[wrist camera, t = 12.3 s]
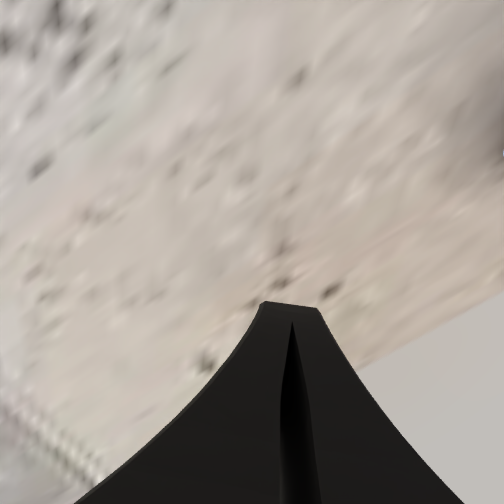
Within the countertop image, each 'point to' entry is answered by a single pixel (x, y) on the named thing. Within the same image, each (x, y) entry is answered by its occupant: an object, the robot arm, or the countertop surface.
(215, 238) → the countertop surface
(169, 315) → the countertop surface
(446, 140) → the countertop surface
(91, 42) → the countertop surface
